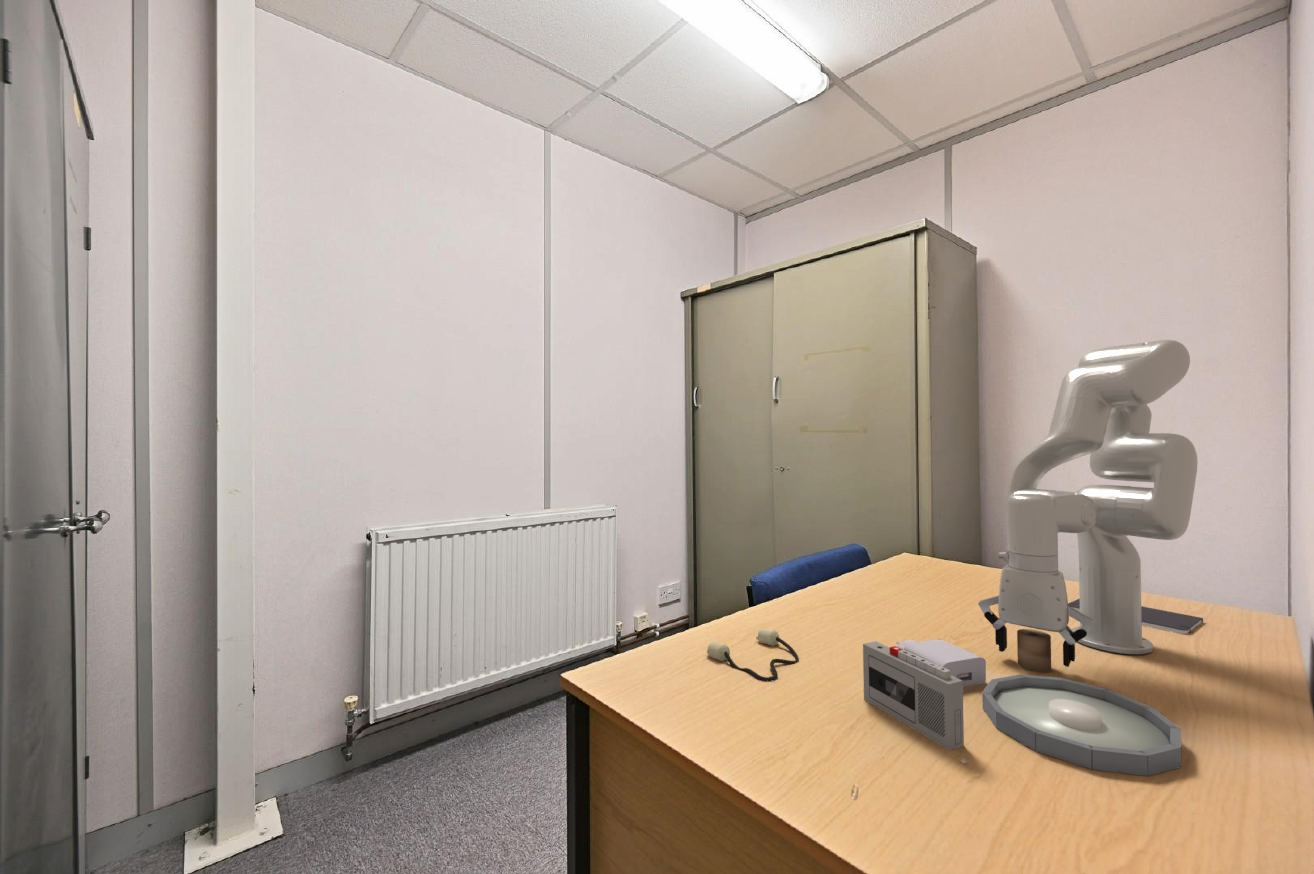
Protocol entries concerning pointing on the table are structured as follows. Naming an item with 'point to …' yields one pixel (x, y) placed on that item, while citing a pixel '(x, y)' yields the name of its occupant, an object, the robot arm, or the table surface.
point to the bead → (1034, 650)
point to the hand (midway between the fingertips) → (1034, 656)
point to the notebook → (1161, 619)
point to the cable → (764, 636)
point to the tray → (1083, 724)
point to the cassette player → (915, 692)
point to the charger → (949, 659)
